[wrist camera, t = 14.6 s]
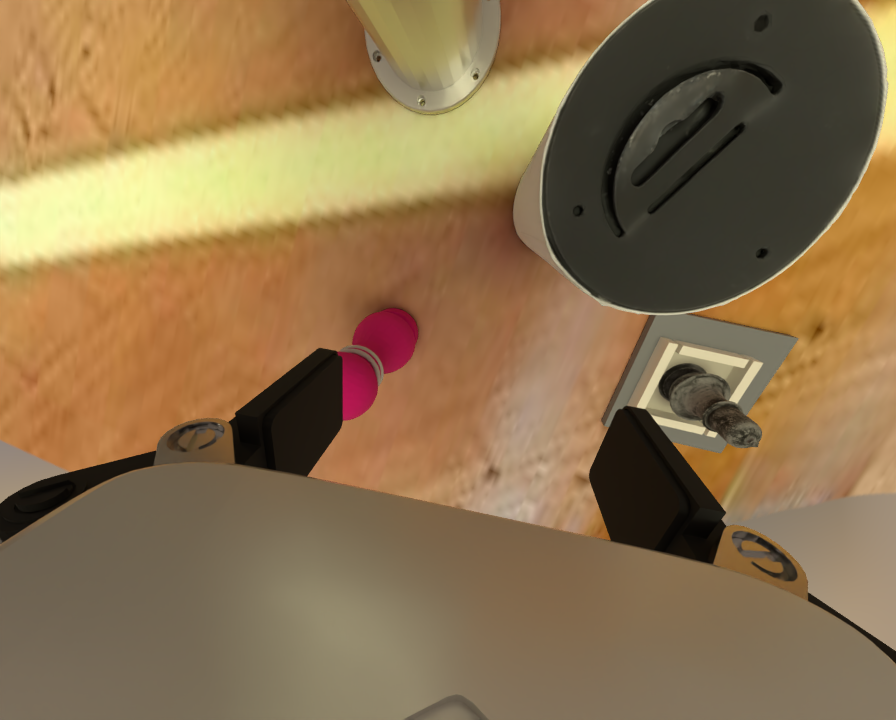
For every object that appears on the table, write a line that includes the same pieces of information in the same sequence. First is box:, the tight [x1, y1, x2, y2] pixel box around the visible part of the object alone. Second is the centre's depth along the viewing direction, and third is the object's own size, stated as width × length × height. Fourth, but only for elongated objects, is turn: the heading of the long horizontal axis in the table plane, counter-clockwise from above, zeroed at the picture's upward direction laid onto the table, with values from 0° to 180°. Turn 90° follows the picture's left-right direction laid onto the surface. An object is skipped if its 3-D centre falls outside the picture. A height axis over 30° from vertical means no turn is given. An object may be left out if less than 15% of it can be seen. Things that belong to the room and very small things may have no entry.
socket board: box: [602, 313, 799, 453], centre depth 38 cm, size 16×15×3 cm
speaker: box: [513, 0, 888, 315], centre depth 22 cm, size 11×10×26 cm
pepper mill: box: [337, 308, 418, 420], centre depth 33 cm, size 7×7×20 cm
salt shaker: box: [658, 363, 762, 448], centre depth 33 cm, size 6×6×12 cm
